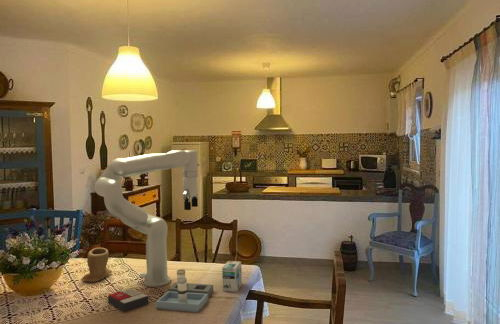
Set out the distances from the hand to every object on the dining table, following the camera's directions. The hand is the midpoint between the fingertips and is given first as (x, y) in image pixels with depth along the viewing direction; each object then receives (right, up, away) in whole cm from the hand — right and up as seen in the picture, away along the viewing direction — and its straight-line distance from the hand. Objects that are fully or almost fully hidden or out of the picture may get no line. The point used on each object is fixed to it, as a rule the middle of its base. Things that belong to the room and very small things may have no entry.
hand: (191, 208), depth 199 cm
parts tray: (+2, -35, -37) cm, 52 cm away
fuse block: (+4, -35, -25) cm, 43 cm away
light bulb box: (+22, -34, -19) cm, 45 cm away
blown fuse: (+2, -35, -37) cm, 51 cm away
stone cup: (-46, -35, -3) cm, 57 cm away
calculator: (-21, -36, -34) cm, 54 cm away
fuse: (-1, -35, -24) cm, 42 cm away
